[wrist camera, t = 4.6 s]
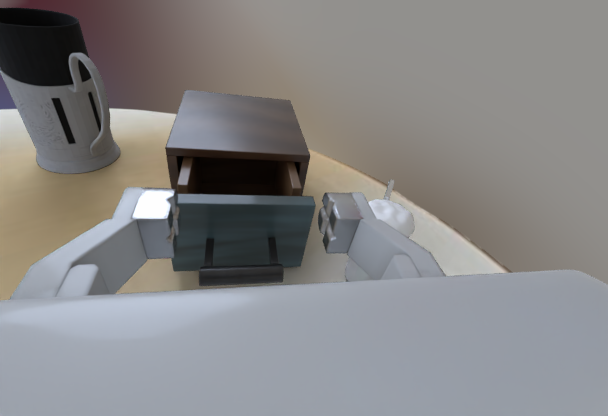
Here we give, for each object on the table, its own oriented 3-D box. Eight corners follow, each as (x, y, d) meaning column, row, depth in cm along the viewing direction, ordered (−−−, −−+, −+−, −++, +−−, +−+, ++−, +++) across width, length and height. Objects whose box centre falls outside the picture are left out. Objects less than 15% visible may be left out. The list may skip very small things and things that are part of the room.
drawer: (308, 306, 25) (328, 244, 20) (165, 316, 22) (147, 248, 18) (284, 188, 37) (293, 132, 33) (189, 186, 35) (183, 124, 30)
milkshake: (380, 259, 32) (417, 185, 26) (383, 300, 28) (429, 225, 22) (339, 249, 32) (367, 173, 26) (336, 290, 28) (368, 212, 22)
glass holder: (96, 131, 42) (58, 6, 32) (161, 173, 37) (138, 41, 28) (22, 151, 36) (-53, 5, 26) (88, 205, 31) (26, 49, 22)
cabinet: (295, 228, 34) (310, 155, 27) (177, 229, 31) (165, 147, 24) (281, 163, 44) (290, 100, 37) (191, 159, 41) (185, 89, 34)
